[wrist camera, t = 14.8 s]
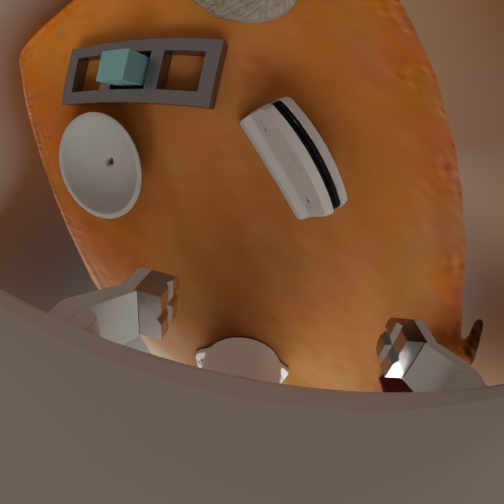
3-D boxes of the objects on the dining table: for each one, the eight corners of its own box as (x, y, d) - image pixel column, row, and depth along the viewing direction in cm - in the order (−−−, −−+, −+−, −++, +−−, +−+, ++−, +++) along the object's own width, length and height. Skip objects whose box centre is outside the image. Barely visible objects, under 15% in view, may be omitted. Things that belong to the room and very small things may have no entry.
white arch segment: (237, 121, 35) (252, 100, 26) (265, 106, 35) (288, 82, 26) (298, 220, 40) (329, 232, 31) (323, 203, 40) (360, 210, 31)
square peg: (154, 60, 32) (129, 48, 24) (149, 86, 34) (122, 79, 26) (130, 61, 32) (102, 51, 24) (124, 87, 34) (95, 81, 26)
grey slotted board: (214, 109, 35) (208, 107, 32) (72, 104, 35) (61, 104, 32) (227, 45, 30) (224, 39, 28) (83, 52, 31) (72, 49, 28)
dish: (176, 171, 39) (162, 177, 34) (118, 227, 43) (103, 238, 39) (112, 92, 34) (94, 90, 29) (64, 154, 38) (46, 158, 34)
